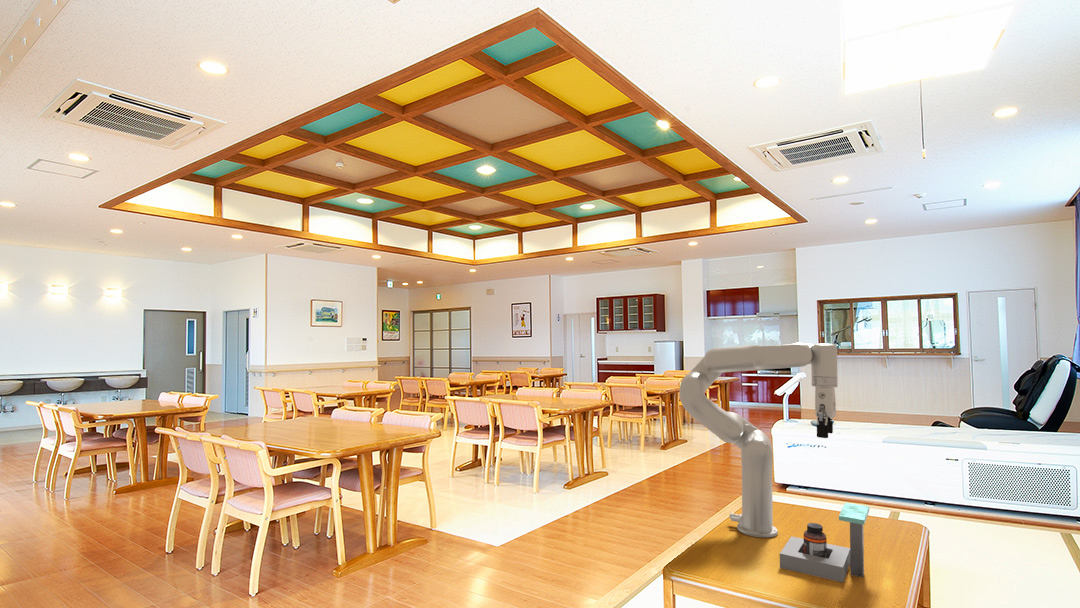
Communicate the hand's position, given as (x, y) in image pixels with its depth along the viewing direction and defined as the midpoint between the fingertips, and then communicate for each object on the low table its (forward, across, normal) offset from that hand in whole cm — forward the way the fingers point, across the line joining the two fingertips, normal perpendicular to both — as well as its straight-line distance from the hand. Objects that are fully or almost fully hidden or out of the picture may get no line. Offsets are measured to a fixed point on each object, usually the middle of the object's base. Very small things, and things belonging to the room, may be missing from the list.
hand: (824, 435), depth 184 cm
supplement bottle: (+34, -23, 0) cm, 41 cm away
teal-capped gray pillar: (+33, -23, -11) cm, 42 cm away
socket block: (+33, -23, 0) cm, 40 cm away
